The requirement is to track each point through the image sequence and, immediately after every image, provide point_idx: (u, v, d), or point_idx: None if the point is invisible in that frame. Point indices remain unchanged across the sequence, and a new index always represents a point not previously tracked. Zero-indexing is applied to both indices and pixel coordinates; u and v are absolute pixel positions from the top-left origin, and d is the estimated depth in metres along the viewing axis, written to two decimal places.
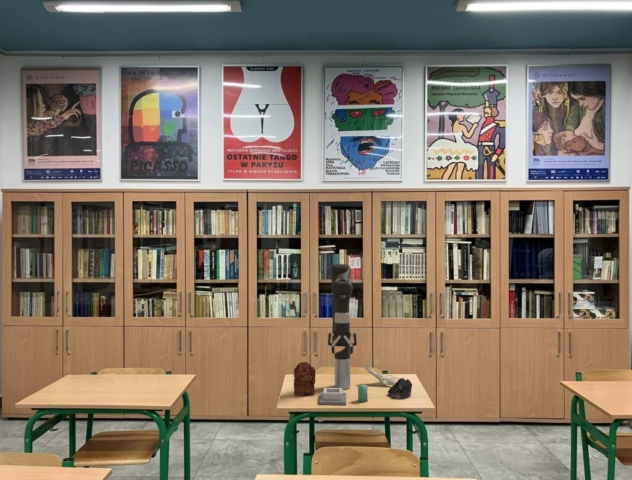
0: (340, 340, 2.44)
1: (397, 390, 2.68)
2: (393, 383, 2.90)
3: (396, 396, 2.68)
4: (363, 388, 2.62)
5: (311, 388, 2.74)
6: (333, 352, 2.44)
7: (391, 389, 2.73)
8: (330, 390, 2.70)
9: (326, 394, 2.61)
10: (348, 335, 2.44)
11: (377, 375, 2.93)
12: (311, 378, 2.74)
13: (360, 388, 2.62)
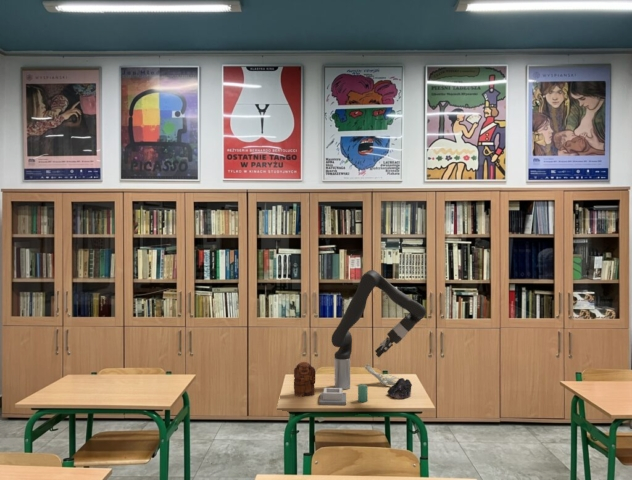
0: None
1: (397, 390, 2.68)
2: (393, 383, 2.91)
3: (396, 396, 2.68)
4: (363, 388, 2.62)
5: (311, 388, 2.74)
6: (379, 356, 2.62)
7: (391, 389, 2.73)
8: (330, 390, 2.70)
9: (326, 394, 2.61)
10: None
11: (377, 375, 2.93)
12: (311, 378, 2.74)
13: (360, 388, 2.62)
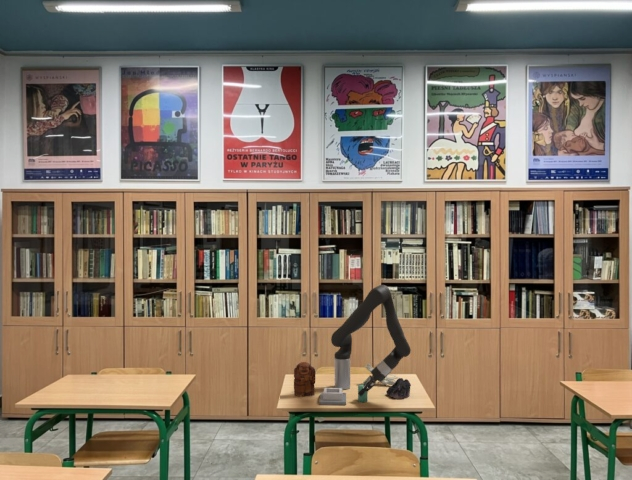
0: None
1: (396, 390, 2.68)
2: (393, 383, 2.91)
3: (395, 396, 2.68)
4: None
5: (311, 388, 2.74)
6: None
7: (390, 389, 2.73)
8: (330, 390, 2.70)
9: (326, 394, 2.61)
10: None
11: None
12: (311, 378, 2.74)
13: (360, 388, 2.62)
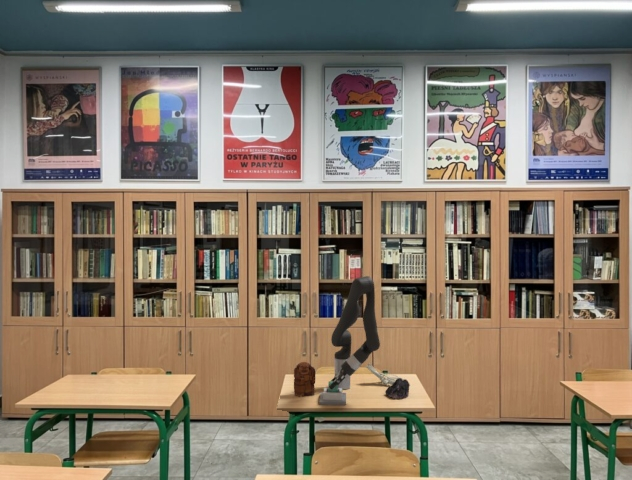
0: None
1: (395, 390, 2.68)
2: None
3: (394, 396, 2.68)
4: None
5: (311, 388, 2.74)
6: (332, 388, 2.62)
7: (389, 389, 2.73)
8: None
9: (326, 394, 2.61)
10: None
11: (378, 374, 2.95)
12: (311, 378, 2.74)
13: (330, 384, 2.64)
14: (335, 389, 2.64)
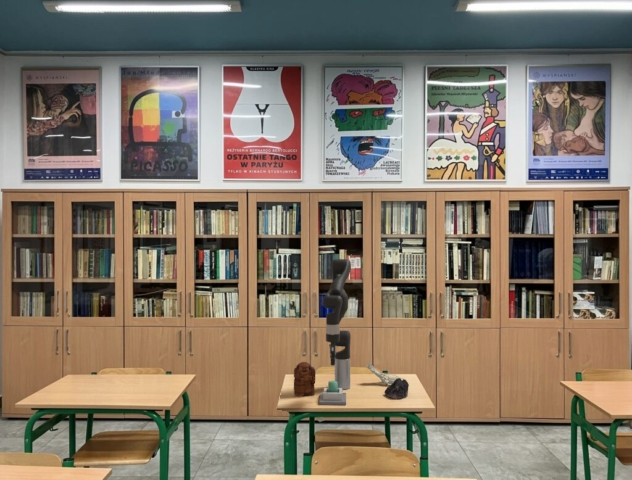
0: None
1: (394, 390, 2.68)
2: None
3: (393, 396, 2.68)
4: (333, 384, 2.64)
5: (311, 388, 2.74)
6: (334, 363, 2.63)
7: (388, 389, 2.73)
8: None
9: (326, 394, 2.61)
10: None
11: (379, 374, 2.95)
12: (311, 378, 2.74)
13: (330, 384, 2.64)
14: (335, 389, 2.64)
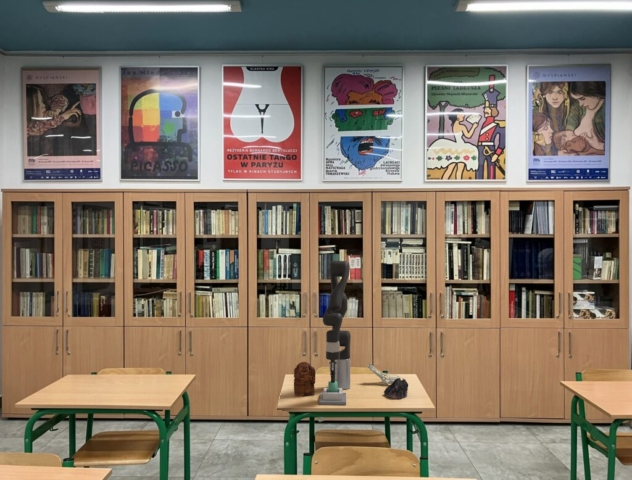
0: None
1: (393, 390, 2.68)
2: None
3: (392, 396, 2.68)
4: (333, 384, 2.64)
5: (311, 388, 2.74)
6: (334, 380, 2.66)
7: (387, 389, 2.73)
8: None
9: (326, 394, 2.61)
10: None
11: (379, 374, 2.95)
12: (311, 378, 2.74)
13: (330, 384, 2.64)
14: (335, 389, 2.64)
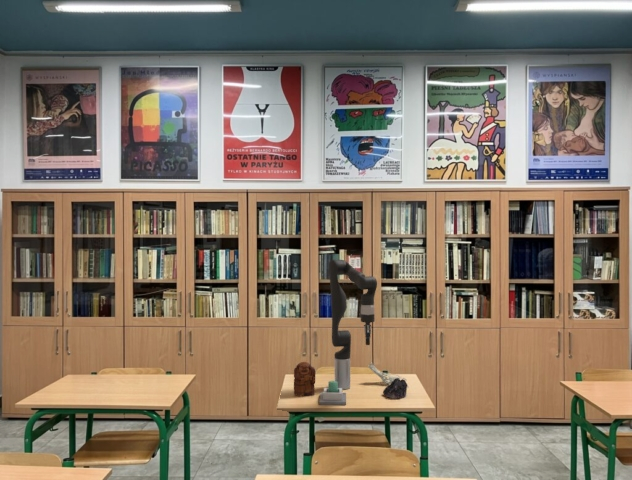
0: None
1: (392, 390, 2.68)
2: None
3: (391, 396, 2.68)
4: (333, 384, 2.64)
5: (311, 388, 2.74)
6: (369, 343, 2.69)
7: (386, 389, 2.73)
8: None
9: (326, 394, 2.61)
10: None
11: (380, 374, 2.96)
12: (311, 378, 2.74)
13: (330, 384, 2.64)
14: (335, 389, 2.64)
